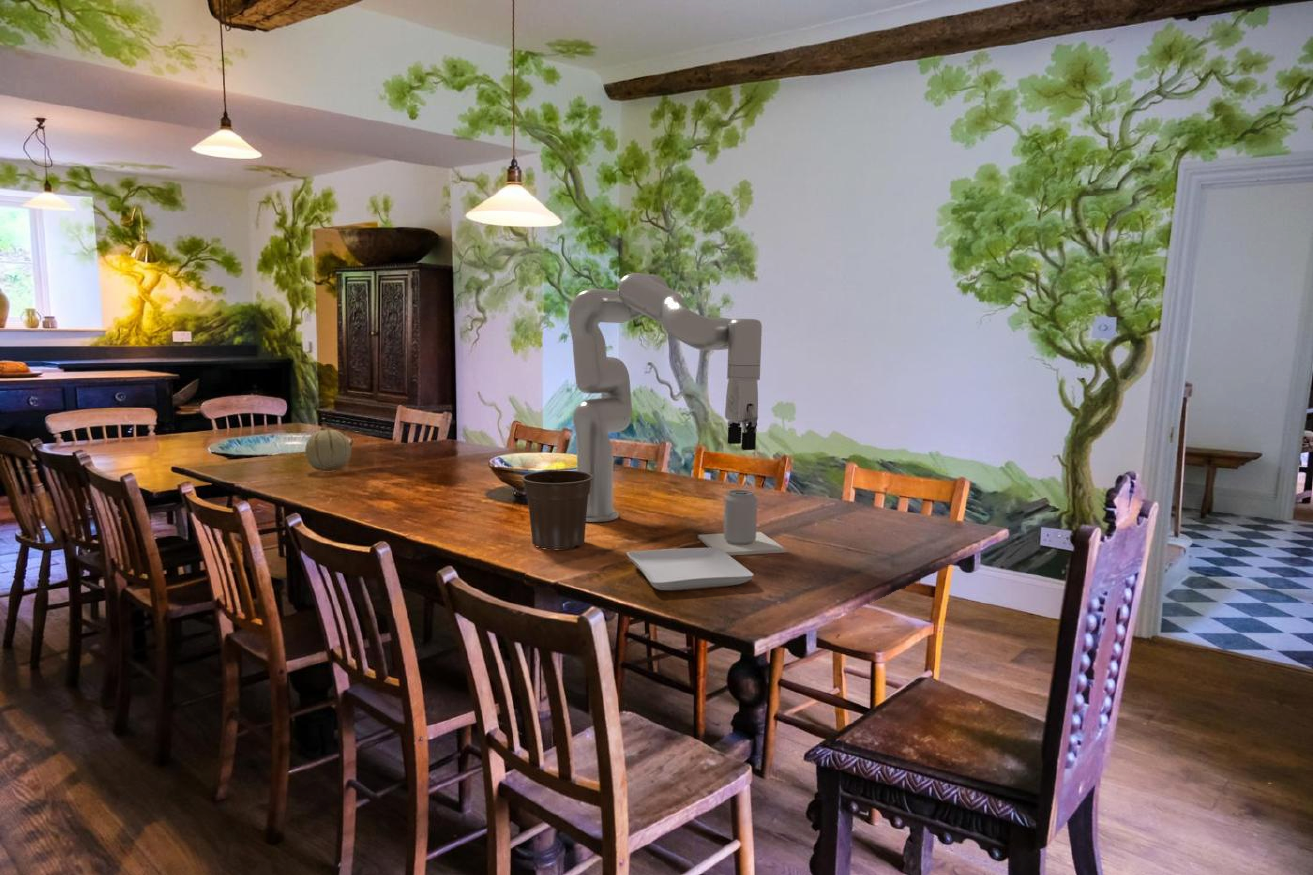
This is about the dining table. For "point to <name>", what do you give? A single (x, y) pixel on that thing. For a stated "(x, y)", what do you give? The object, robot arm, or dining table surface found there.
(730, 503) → the can
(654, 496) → the dining table surface
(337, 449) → the cantaloupe
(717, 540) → the mat
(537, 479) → the plant pot
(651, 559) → the salad plate
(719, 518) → the dining table surface
